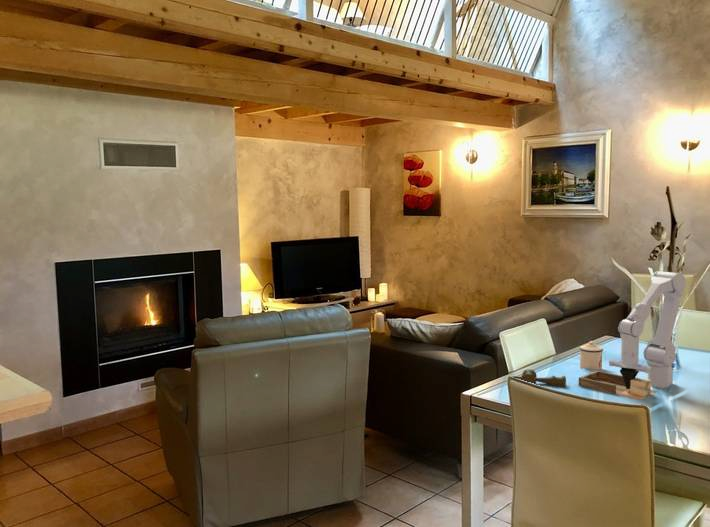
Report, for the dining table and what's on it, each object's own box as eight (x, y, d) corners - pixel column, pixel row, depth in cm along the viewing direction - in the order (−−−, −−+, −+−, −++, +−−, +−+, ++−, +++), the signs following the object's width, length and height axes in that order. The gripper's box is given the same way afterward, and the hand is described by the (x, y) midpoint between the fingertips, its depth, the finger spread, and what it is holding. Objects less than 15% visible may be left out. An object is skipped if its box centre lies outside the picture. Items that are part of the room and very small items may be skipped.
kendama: (565, 393, 219) (510, 387, 226) (565, 386, 228) (512, 381, 235) (566, 378, 219) (511, 372, 226) (566, 371, 228) (513, 366, 235)
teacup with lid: (604, 372, 244) (605, 344, 243) (581, 371, 246) (581, 343, 245) (599, 364, 255) (599, 338, 254) (577, 363, 258) (577, 337, 256)
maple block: (636, 390, 216) (637, 377, 216) (650, 393, 212) (651, 380, 212) (630, 393, 213) (630, 379, 213) (644, 396, 209) (644, 383, 209)
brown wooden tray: (597, 380, 233) (597, 370, 232) (657, 393, 215) (657, 383, 215) (578, 387, 224) (578, 377, 223) (639, 402, 206) (639, 391, 206)
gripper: (605, 350, 218) (604, 386, 219) (645, 357, 206) (644, 395, 208) (614, 347, 222) (613, 382, 223) (654, 354, 211) (652, 391, 212)
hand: (628, 388), depth 216 cm, fingers closed
